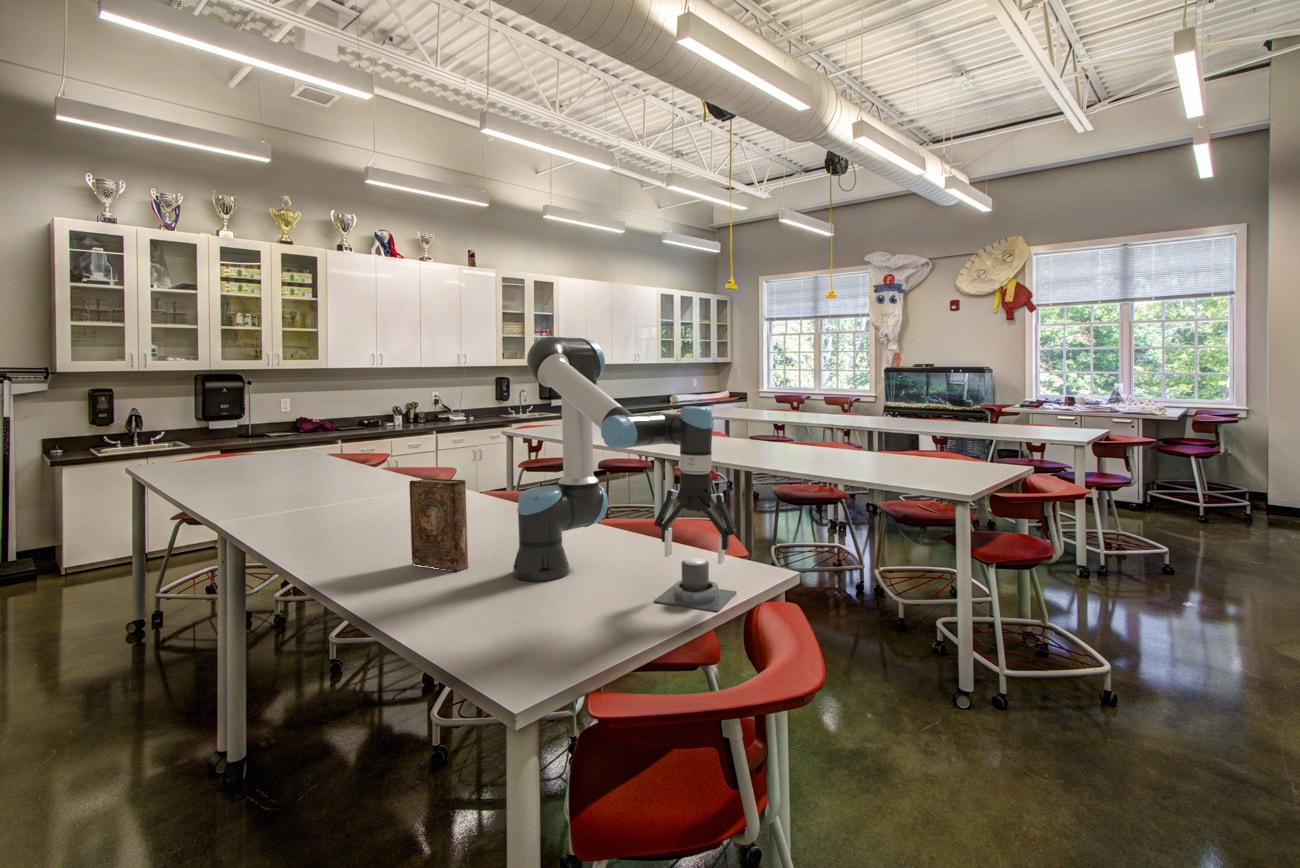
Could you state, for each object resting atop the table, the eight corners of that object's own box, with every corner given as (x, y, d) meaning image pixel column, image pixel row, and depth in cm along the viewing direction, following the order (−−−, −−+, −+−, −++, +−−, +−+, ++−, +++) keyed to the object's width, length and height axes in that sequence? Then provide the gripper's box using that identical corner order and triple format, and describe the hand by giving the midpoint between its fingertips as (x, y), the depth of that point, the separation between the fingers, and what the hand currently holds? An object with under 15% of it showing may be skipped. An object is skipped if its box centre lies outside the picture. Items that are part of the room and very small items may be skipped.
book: (471, 567, 179) (468, 480, 177) (458, 572, 174) (455, 483, 172) (425, 561, 185) (422, 477, 183) (412, 566, 180) (408, 480, 178)
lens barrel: (677, 597, 150) (677, 563, 149) (687, 589, 156) (687, 556, 155) (703, 601, 147) (703, 566, 147) (712, 592, 153) (712, 559, 153)
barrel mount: (653, 602, 149) (653, 589, 148) (676, 585, 161) (676, 573, 161) (718, 611, 142) (718, 599, 142) (736, 593, 155) (736, 581, 154)
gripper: (641, 470, 151) (640, 556, 153) (741, 477, 141) (739, 570, 143) (654, 466, 158) (653, 548, 160) (751, 473, 147) (748, 561, 149)
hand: (694, 559), depth 151 cm, fingers open, 13 cm apart
